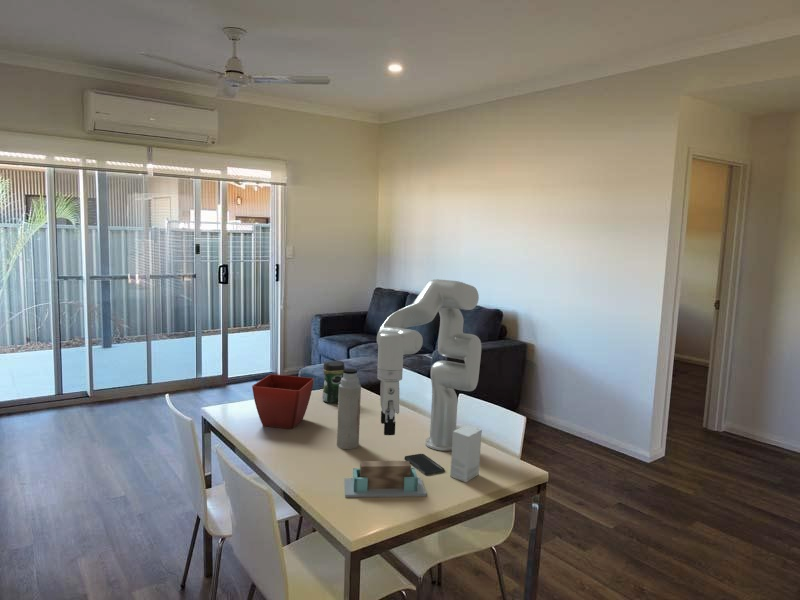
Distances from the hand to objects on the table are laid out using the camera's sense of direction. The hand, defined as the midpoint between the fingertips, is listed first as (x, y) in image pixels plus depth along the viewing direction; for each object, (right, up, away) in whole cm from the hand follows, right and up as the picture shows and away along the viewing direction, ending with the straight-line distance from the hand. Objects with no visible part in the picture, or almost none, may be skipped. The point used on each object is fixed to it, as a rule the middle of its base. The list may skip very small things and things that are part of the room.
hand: (387, 428), depth 168 cm
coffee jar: (-27, -7, +87) cm, 91 cm away
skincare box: (+25, -18, +13) cm, 33 cm away
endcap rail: (-1, -18, +1) cm, 18 cm away
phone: (+12, -17, +20) cm, 29 cm away
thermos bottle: (-15, -14, +34) cm, 40 cm away
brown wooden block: (-1, -18, +1) cm, 18 cm away
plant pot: (-43, -10, +55) cm, 71 cm away
